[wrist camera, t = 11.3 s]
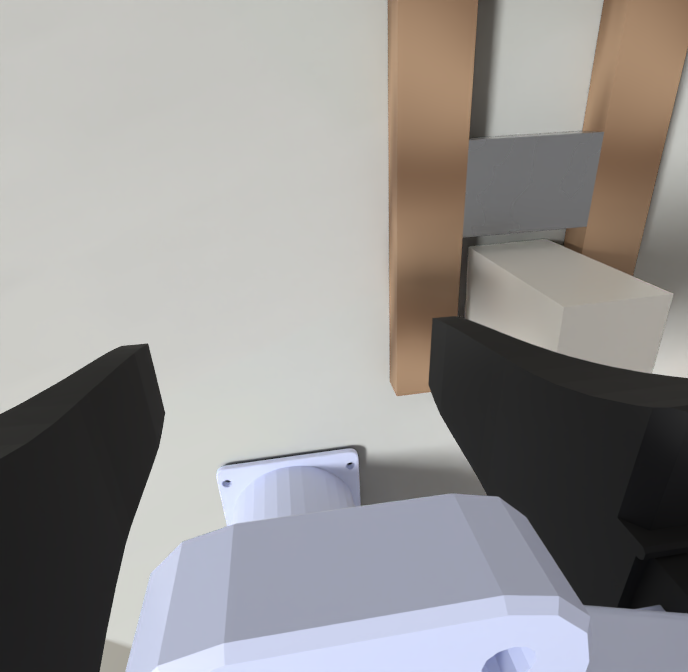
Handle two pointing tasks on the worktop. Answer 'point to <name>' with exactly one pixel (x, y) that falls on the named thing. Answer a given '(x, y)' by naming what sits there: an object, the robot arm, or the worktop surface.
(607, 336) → the plug
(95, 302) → the worktop surface
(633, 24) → the socket panel
